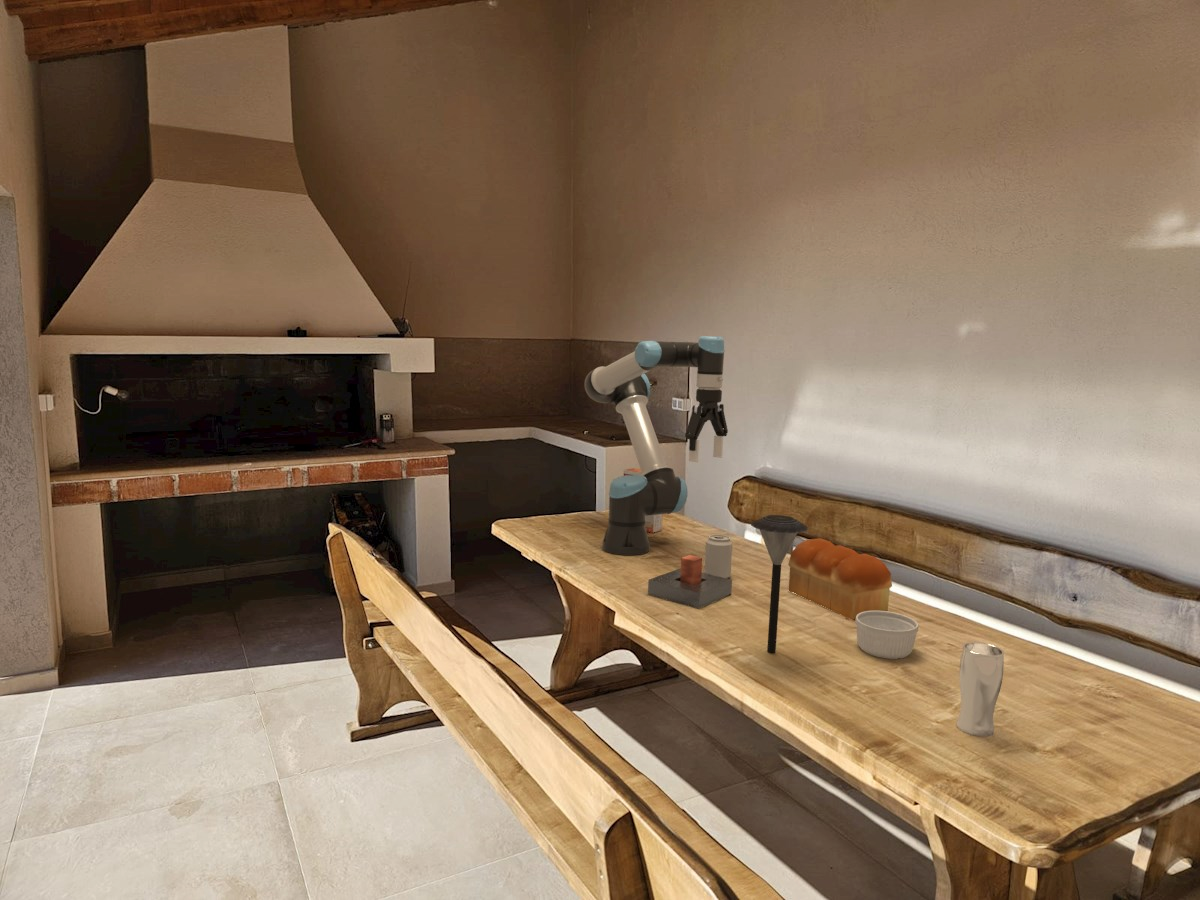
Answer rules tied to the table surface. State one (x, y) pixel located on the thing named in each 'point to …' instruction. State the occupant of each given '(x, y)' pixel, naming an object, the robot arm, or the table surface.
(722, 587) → the socket block
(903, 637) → the ramekin
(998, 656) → the beer glass
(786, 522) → the solar garden light
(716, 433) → the robot arm
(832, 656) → the table surface
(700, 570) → the peg
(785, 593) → the table surface
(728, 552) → the can
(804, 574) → the bread
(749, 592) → the table surface
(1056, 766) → the table surface
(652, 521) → the cracker box
